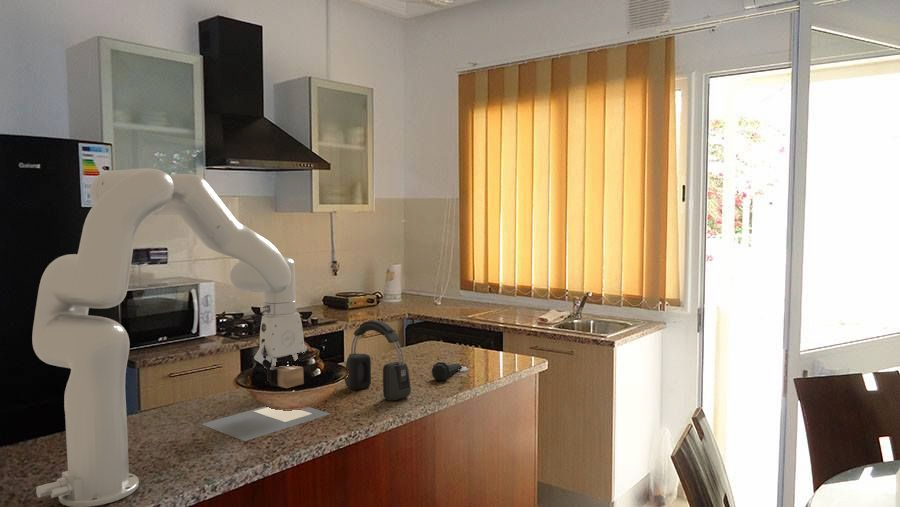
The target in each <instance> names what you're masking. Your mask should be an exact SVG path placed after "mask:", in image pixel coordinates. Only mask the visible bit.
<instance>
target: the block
mask: <svg viewBox="0 0 900 507" xmlns="http://www.w3.org/2000/svg"><path fill="white" fill-rule="evenodd" d="M275 369H277V386H276V387H280V388H284V389H288V388H289V389H290V388H292V387H296V386H300V385H304V384H305V380H304V377H305V376H304V367H303V366H298V365H297V366H295V365H292V366H279V367H275Z"/></svg>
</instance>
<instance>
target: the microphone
mask: <svg viewBox="0 0 900 507" xmlns="http://www.w3.org/2000/svg"><path fill="white" fill-rule="evenodd" d="M461 366H463V365H462V364H460V363H449V364H447V363H445V362H441V361H439V362H436V363H435V364H433V365H432V369H431V374H432V378H433V379H434V380H436V381H440V382H445V381H447V380H448V379H449V378H450V377H451V376H452V375H453V374H455V373H456V371H457V370H458V369H459V368H460V367H461ZM461 368H462V367H461ZM457 372H458V371H457Z"/></svg>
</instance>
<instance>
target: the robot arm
mask: <svg viewBox="0 0 900 507" xmlns="http://www.w3.org/2000/svg"><path fill="white" fill-rule="evenodd" d="M89 192H90V193H89V194H90V198H91V201H92V202H93V205H92V207H91V208H90V210H89V212H88V214H87V216H86V218H85V221H84V223H83V226H82V232H81V236H80V241H79V245H78V246H79V247H78V250H77V254H76V253H73V254H64V255H62V256H58V257H57V258H55V259H54V260H52V262H50V263H49V264H48V265H47V267H46V268H45V270H44V272H43V274H42V275H41V279H40V281H39V282H40V283H39V286H38V292H37V298H36V305H35V311H34V320H33V325H32V335H31V337H32V338H31V339H32V348H33V351H34V353H35V355H36V356H37V358H38V359H39V360H40V361H42V362H44V363H45V364H47V365H50V366H51V365H52V366H56V367H60V368H66V369H70V374H69V377H68V380H67V382H66V387H65V390H64V397H63V398H64V401H63V403H64V404H63V405H64V406H63V407H64V415H65V416H64V419H65V438H66V439H65V440H66V456H67V457H66V458H67V460H66V461H67V470H66V471H62V472H61V477H60V478H57V479H56V481H54V482H50V483H49V482H48V483H44V484H42V485H39V486H36V489H35V490H36V496H37V498H39V499H41V498H43V497H47V496H50V497H51V499H55V498H57V497H58V501H59V503H60V504H62V505H63V506H66V507H98V506H103V505H106V504H110V503H113V502H117V501H119V500H122V499H125V498H126V497H128V496H130V495H131V494H133V493H134V492H135V491H136V490H137V489H138V487H139V485H140V482H139V480H140V479H139V477H138V476H137V475H135V474H133V473H130V470H129V469H130V468H129V467H130V466H129V465H130V464H129V446H128V445H129V444H128V442H129V441H128V440H129V439H128V419H127V418H128V417H127V415H128V414H127V402H126V401H127V400H126V399H127V398H126V394H127V393H126V375H127V374H126V373H127V366H128V360H129V354H130V345H131V343H130V338H129V334H128V332H127V330H126V329H125V327H124V326H123V325H122V324H120V322H118V321H116V320H114V319H112V318H108V317H104V316H98V315H89V310H90V309H110V308H114V307H116V306H119V305H120V304H121V303H122V302H123V301H124V299H125V298H126V296H127V294H128V293H127V292H128V289H129V288H128V287H129V281H130V277H131V268H132V260H133V254H134V253H133V252H134V246H135V242H136V237H137V233H138V232H139V231H140V228H141V226H142V225H143V223H144V222H145V221H146V220H147V219H148V218H150V217H151V216H178V217H180V218H181V220H183V222H185V224H186V225H187V226H188V227H189V229H190V230H191V231H192V232H193V233H194V234H195V235H196V236H197V238H198V239H199V240H200V241H201V242H202V244H204V246H205V247H206V248H208V249H210V250H212V251H214V252H216V253H219V254H222V255H223V256H227V257H231V258H234V259H236V260H239V261H238V262H236V263H235V264H234V265H233V266H232V267H231V269H230V273H229V277H230V278H229V279H230V281H231V282H230V283H231V284H232V285H233V287H235V288H236V289H238V290H239V291H243V292H249V293H263V306H260V307H259V308H260V309H259V310H260V312H261V313H263V314H264V315H262V316H261V319H260V320H261V321H260V330H259V348H258V349H257V352H256V353H255V355H254V357H253V358H254V359H253V360H255V361H256V362H258V363H259V364H261V365H263V366H264V368H266V369H267V381H268V382H269V384H270V386H272V387H278V386H277V369H275V366H276V362H278V361H277V359H278V358H279V359H280V358H284V357H287V356H289V355H292V357H293V360H294V361H296V360H297V359H298V356H300V355H301V356H302V357H303V355H302V353H303V352H304V353H305V352H306V351H307V350H308V346H307V344H306V343H305V340H304V339H305V338H304V329H303V323H302V318H301V316H300V312H297V299H296V298H297V296H296V294H297V293H296V265H295V261H294V260H293V259H292V258H290V257H284V256H283V255H282V254H281V252H280V251H279V250H278V248H277V247H276V246H275V245H274V244H272V242H270V241H269V240H268V239H267V238H265V237H264V236H263V235H261V234H258V233H257V232H255V231H254V230H253V229H251V228H249V227H247V226H246V225H244V224H243V223H241V222H239V220H238V219H237V218H236V217H235V216H234V215H233V213H232V212H231V210H229V208H228V207H227V205H225V203H224V202H223V200H222V199H221V198H220V197H219V196H218V194H217V193H216V192H215V191H214V189H213V188H212V186H211V185H210V184H209V183H208V181H207V180H205V179H204V178H203V177H202V176H200V175H198V174H194V173H193V174H192V173H178V174H177V173H176V174H175V173H174V174H168V173H167V172H165V171H163V170H161V169H156V168H147V167H146V168H130V169H114V170H107V171H104V172H101V173H100V174H98V175H97V176H96V177H95V178H94V179H93V181H92V182H91V185H90V189H89ZM297 353H298V354H297ZM304 353H303V354H304ZM264 357H265V358H264ZM269 384H268V385H269Z"/></svg>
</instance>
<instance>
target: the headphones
mask: <svg viewBox="0 0 900 507" xmlns="http://www.w3.org/2000/svg"><path fill="white" fill-rule="evenodd" d="M370 331H374V332H377V333H379V334H380V335H382V336H384V338H385V339H386V340H387V343H389V344H393V345H394V347H395V349H396V352H397V355H398V356H397V357H398V361H394V362H393V361H392V362H389V363H386V364H384V365H383V368H382V393H383V398H384V399H386V400H387V401H399V400H401V399H405V398H407V397H409V396H410V394H411V392H412V387H411V378H410V372H409V371H410V370H409V367H408V364H406V363H404V353H403V349H402V347H401V345H400V343H399V341H400V337H399V335H398V333H396V331H395V330H394V329H393V327H392V326H390V325H389V324H387V323H386V322H384V321H381V320H377V319H375V320H368V321H364V322H363V323H360V325H359V327H357V329H355V331H354V332H353V335H354V337H353V340H352V341H351V342H352V343H351V348H350V353H349V354H348V357H347V359H346V363H345V370H346V369H347V370H348V371H349V375H348V377H347V378H345V377H344V382H345V385H346V387H347V388H348V389H349V390H352V391H359V390H364V389H367V388H369V387H370V386H371V384H372V383H371V382H372V368H371V367H372V361H371V357H370V355H369V354H366V353H357V352H356V348H357V343H358V340H359V339H360V336H363V335H365V334H366V333H367V332H370Z"/></svg>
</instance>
